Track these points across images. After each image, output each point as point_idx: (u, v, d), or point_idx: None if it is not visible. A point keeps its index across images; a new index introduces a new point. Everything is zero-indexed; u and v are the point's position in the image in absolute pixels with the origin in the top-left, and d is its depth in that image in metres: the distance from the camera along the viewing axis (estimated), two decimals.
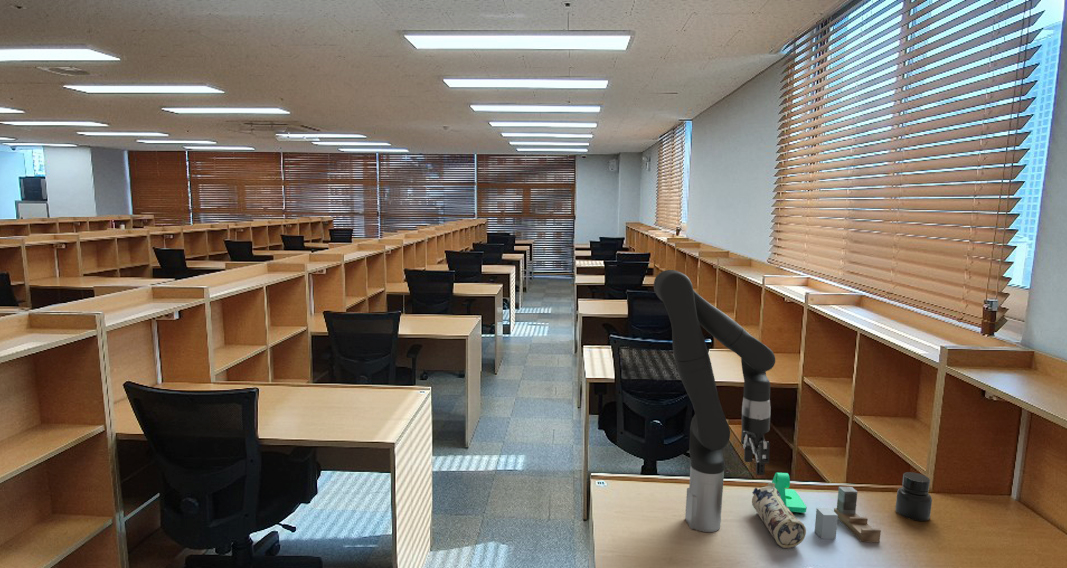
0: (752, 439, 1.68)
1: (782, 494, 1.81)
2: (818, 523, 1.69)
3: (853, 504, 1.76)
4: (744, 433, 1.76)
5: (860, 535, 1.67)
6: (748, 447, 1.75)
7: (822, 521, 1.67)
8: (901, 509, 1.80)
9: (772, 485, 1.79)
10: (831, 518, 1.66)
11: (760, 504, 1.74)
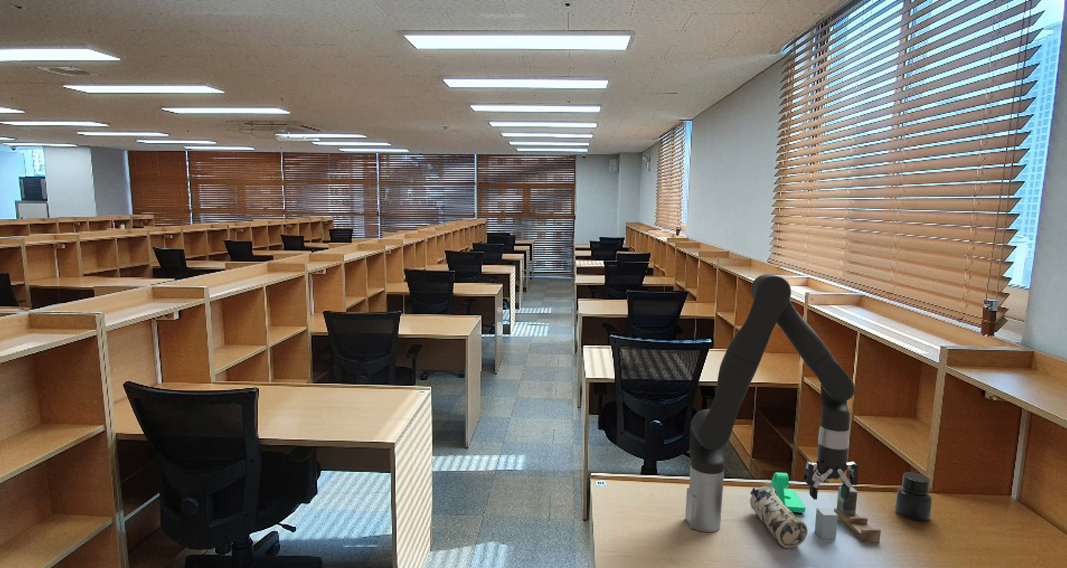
0: (840, 469, 1.65)
1: (781, 493, 1.82)
2: (818, 523, 1.69)
3: (853, 504, 1.76)
4: None
5: (860, 535, 1.67)
6: None
7: (822, 521, 1.67)
8: (901, 509, 1.80)
9: (770, 485, 1.80)
10: (831, 518, 1.66)
11: (759, 504, 1.74)
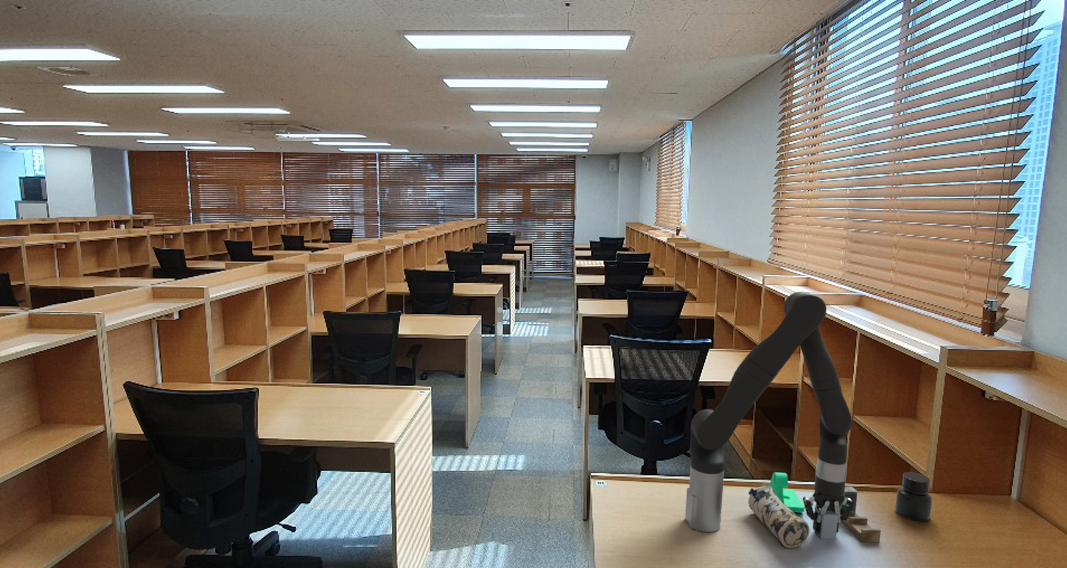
0: None
1: (780, 493, 1.82)
2: None
3: None
4: None
5: (860, 535, 1.67)
6: None
7: (822, 521, 1.67)
8: (901, 509, 1.80)
9: (767, 485, 1.80)
10: (831, 517, 1.66)
11: (759, 505, 1.74)
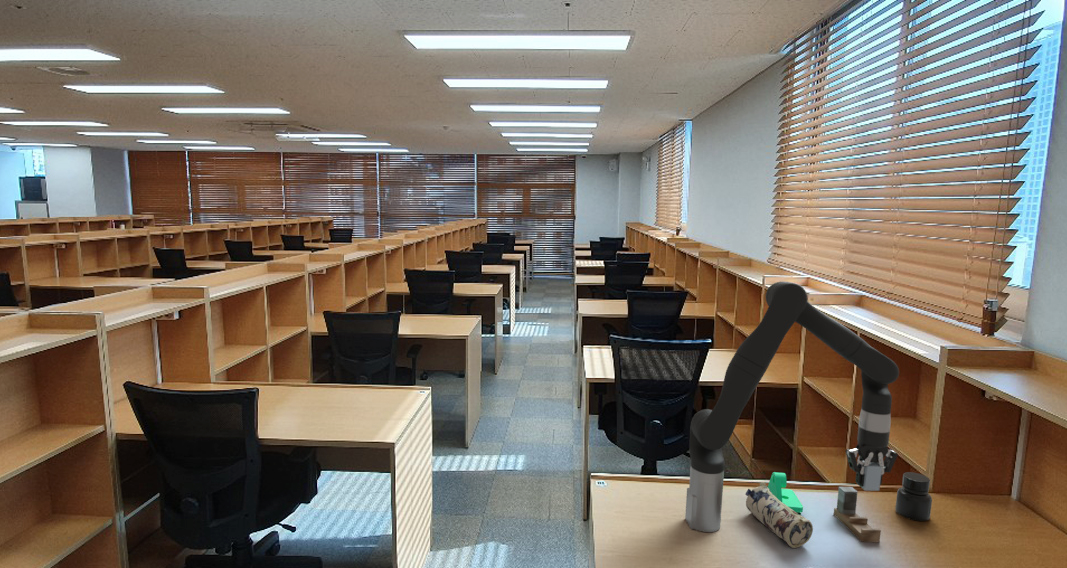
0: None
1: (779, 493, 1.82)
2: None
3: (853, 504, 1.76)
4: None
5: (860, 535, 1.67)
6: None
7: (865, 473, 1.65)
8: (901, 509, 1.80)
9: (763, 484, 1.80)
10: (875, 469, 1.65)
11: (759, 506, 1.73)
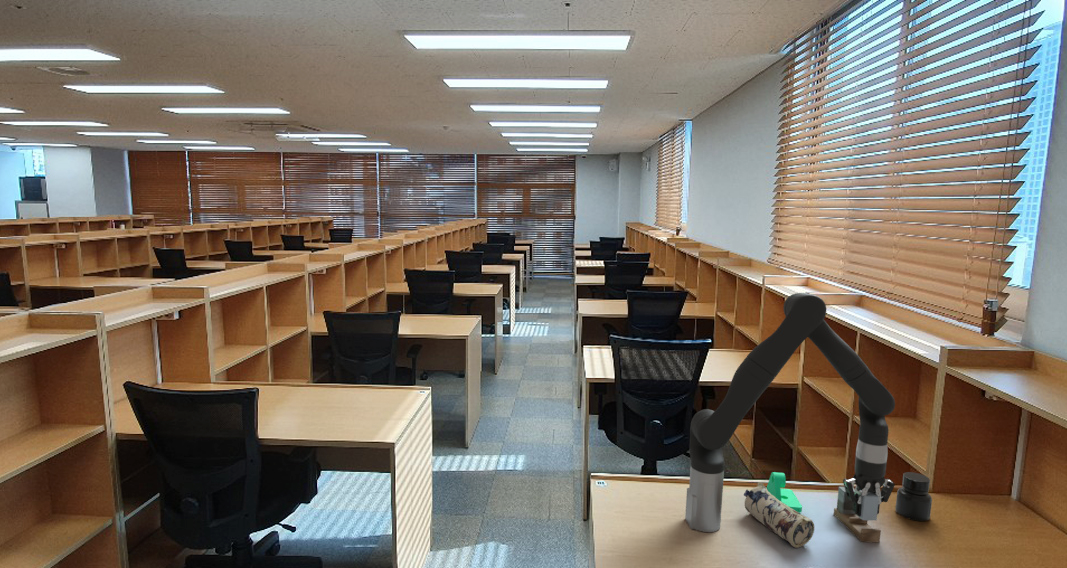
0: None
1: (778, 493, 1.82)
2: None
3: None
4: None
5: (860, 535, 1.67)
6: None
7: (863, 503, 1.67)
8: (901, 509, 1.80)
9: (761, 484, 1.80)
10: (872, 499, 1.66)
11: (758, 506, 1.73)
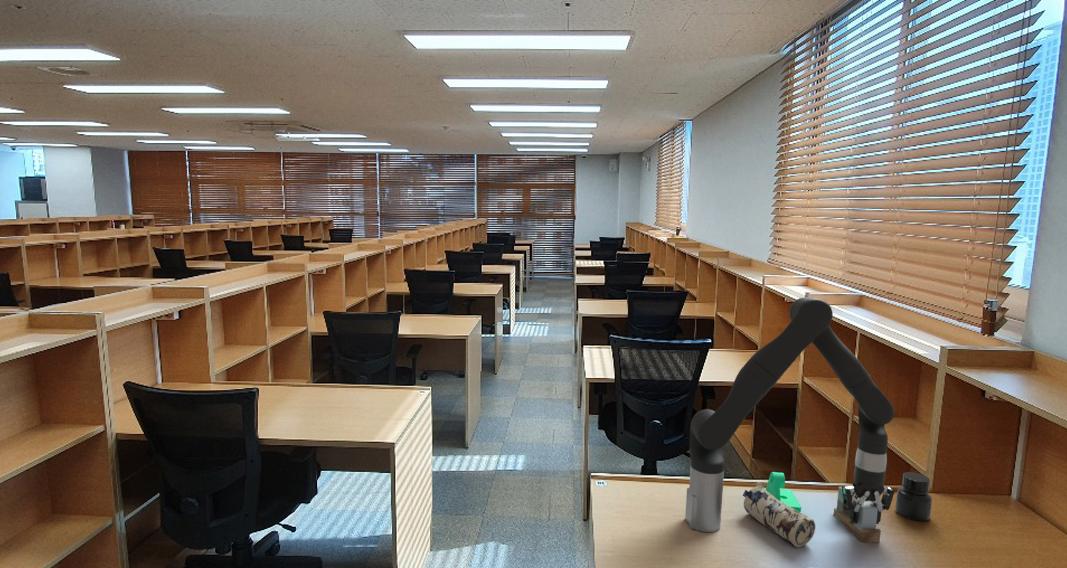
0: None
1: (777, 493, 1.82)
2: None
3: None
4: None
5: (860, 535, 1.67)
6: None
7: (862, 515, 1.67)
8: (901, 509, 1.80)
9: (759, 484, 1.80)
10: (871, 511, 1.66)
11: (758, 506, 1.73)
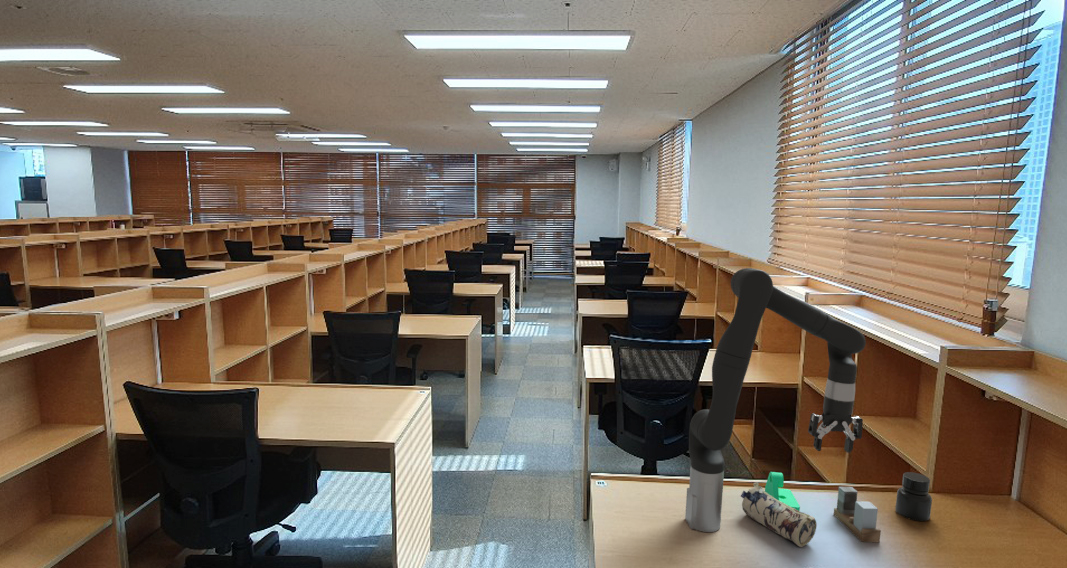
0: (845, 422, 1.69)
1: (775, 493, 1.82)
2: (857, 517, 1.69)
3: (853, 504, 1.76)
4: None
5: (860, 535, 1.67)
6: None
7: (862, 515, 1.67)
8: (901, 509, 1.80)
9: (756, 484, 1.80)
10: (871, 511, 1.66)
11: (758, 507, 1.72)
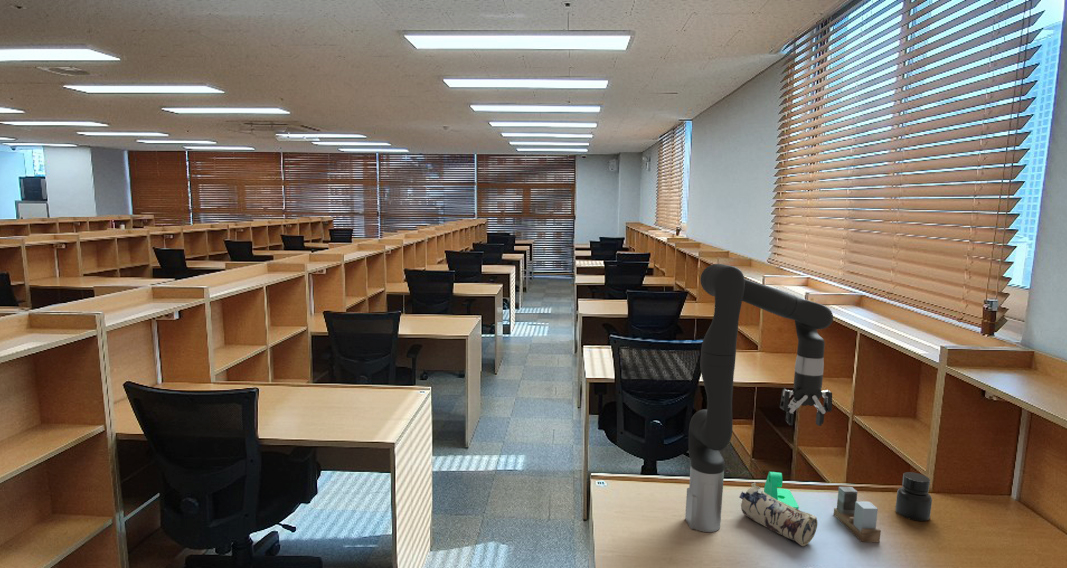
0: (815, 396, 1.74)
1: (774, 493, 1.82)
2: (857, 517, 1.69)
3: (853, 504, 1.76)
4: None
5: (860, 535, 1.67)
6: None
7: (862, 515, 1.67)
8: (901, 509, 1.80)
9: (754, 485, 1.79)
10: (871, 511, 1.66)
11: (758, 508, 1.72)
